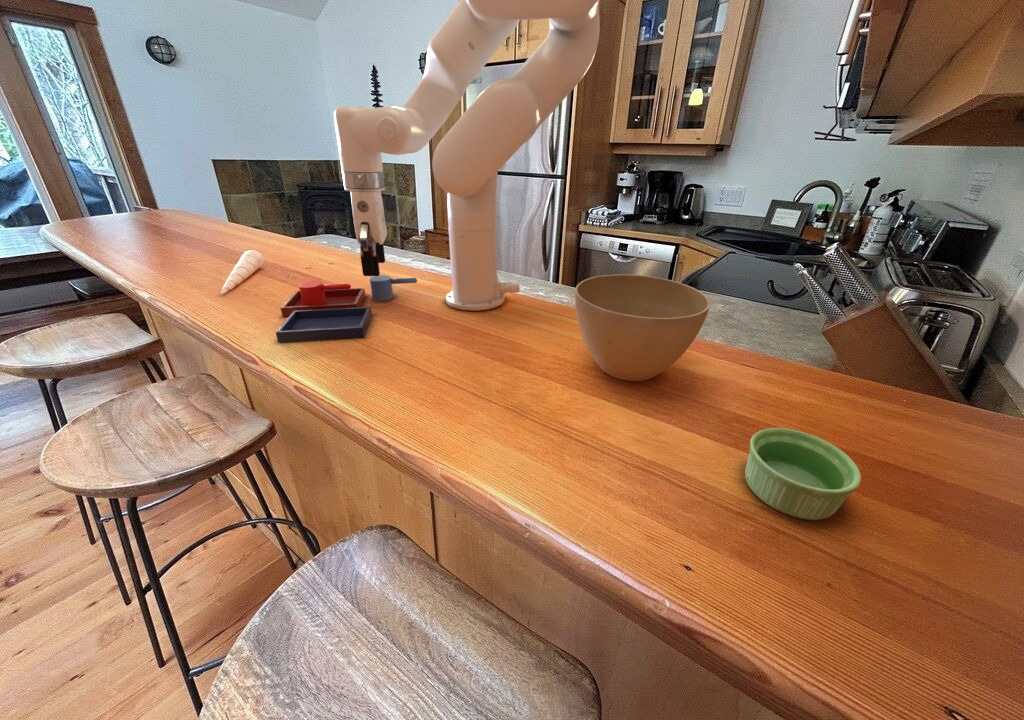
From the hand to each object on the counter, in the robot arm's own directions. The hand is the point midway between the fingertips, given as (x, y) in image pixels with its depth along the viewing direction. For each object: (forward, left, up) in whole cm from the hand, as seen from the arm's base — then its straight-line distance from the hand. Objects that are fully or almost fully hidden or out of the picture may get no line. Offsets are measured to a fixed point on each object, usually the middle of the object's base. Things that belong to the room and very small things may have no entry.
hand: (374, 268), depth 88 cm
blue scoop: (-4, 0, -6) cm, 7 cm away
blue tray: (+7, +16, -6) cm, 18 cm away
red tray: (+10, +4, -6) cm, 13 cm away
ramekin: (-48, +64, -7) cm, 80 cm away
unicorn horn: (+35, -18, -7) cm, 40 cm away
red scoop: (+10, +4, -6) cm, 12 cm away
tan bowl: (-42, +38, -7) cm, 57 cm away
